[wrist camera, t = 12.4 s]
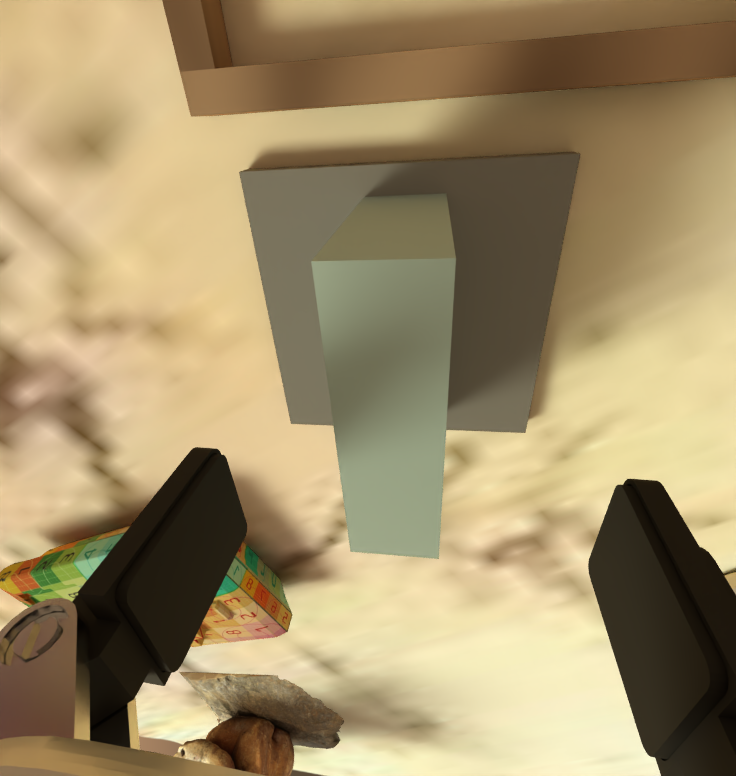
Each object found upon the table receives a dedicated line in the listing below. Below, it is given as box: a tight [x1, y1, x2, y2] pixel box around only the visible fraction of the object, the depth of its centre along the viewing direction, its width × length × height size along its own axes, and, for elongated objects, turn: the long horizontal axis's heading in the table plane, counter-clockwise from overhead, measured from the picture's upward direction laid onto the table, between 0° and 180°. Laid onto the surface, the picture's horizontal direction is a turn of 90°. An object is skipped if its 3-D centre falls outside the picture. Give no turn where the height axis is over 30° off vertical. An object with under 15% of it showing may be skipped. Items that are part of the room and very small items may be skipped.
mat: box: [239, 152, 580, 433], centre depth 18 cm, size 12×12×1 cm
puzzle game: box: [0, 526, 292, 647], centre depth 32 cm, size 12×5×20 cm
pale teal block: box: [311, 193, 456, 559], centre depth 15 cm, size 3×10×8 cm, turn 4°
